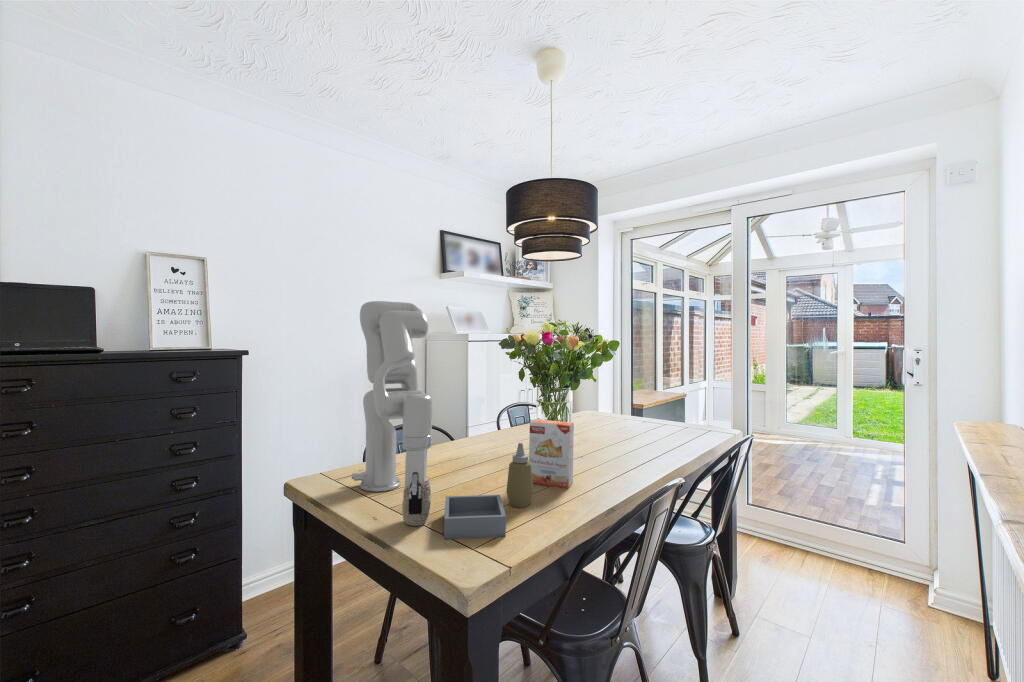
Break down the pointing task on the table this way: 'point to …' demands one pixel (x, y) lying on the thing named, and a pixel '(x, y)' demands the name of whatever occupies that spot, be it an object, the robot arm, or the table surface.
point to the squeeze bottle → (520, 479)
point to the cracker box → (551, 452)
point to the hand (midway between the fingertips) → (416, 506)
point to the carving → (426, 500)
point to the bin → (474, 517)
